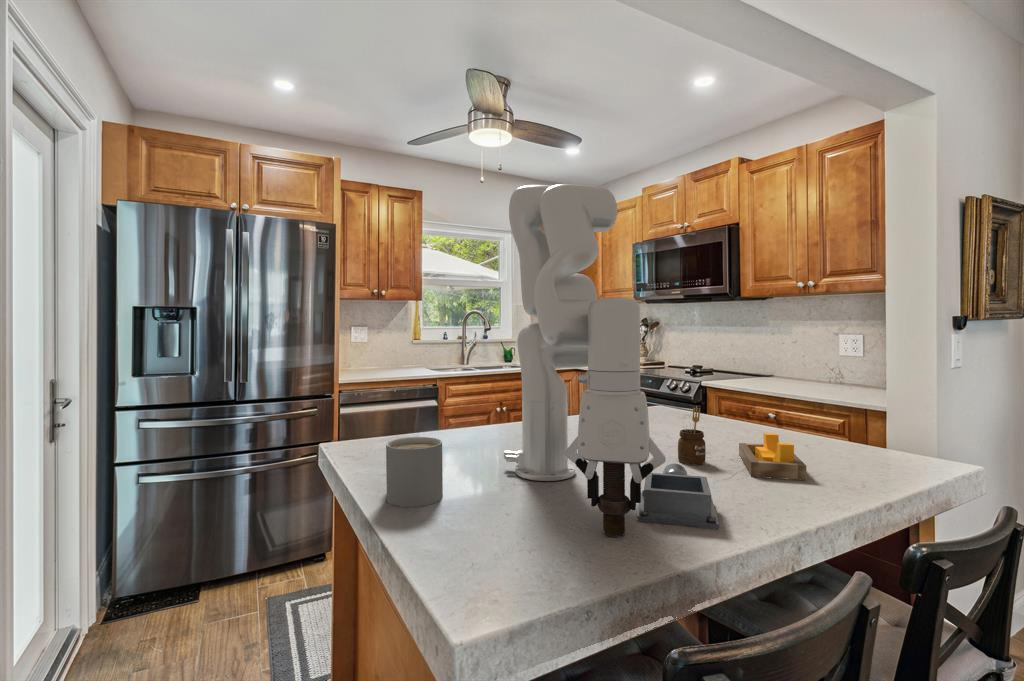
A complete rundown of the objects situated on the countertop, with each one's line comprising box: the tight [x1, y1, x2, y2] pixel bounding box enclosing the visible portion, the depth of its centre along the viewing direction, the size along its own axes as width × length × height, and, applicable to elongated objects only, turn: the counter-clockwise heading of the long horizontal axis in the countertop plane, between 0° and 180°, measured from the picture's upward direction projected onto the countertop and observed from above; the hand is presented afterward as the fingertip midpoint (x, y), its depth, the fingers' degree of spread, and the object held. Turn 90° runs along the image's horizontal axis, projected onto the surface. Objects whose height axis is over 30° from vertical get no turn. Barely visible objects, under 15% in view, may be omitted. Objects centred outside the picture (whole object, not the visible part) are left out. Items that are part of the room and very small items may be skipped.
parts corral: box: [738, 442, 807, 481], centre depth 110 cm, size 10×18×3 cm, turn 163°
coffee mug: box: [385, 436, 444, 508], centre depth 93 cm, size 13×10×10 cm
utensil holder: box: [677, 406, 707, 466], centre depth 115 cm, size 6×6×12 cm
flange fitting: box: [636, 463, 720, 530], centre depth 87 cm, size 12×18×5 cm, turn 163°
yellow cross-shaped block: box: [755, 432, 795, 463], centre depth 110 cm, size 12×4×6 cm, turn 168°
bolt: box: [597, 462, 632, 538], centre depth 74 cm, size 6×5×15 cm
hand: (614, 504), depth 75 cm, fingers closed on bolt, 4 cm apart
